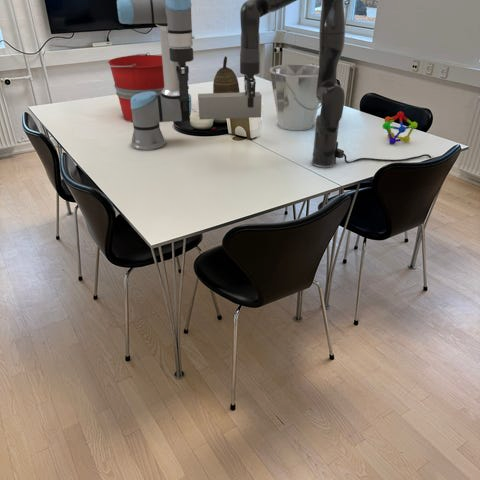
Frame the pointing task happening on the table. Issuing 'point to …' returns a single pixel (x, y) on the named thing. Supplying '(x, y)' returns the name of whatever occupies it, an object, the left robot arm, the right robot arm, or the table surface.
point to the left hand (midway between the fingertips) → (185, 114)
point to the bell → (225, 80)
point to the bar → (228, 105)
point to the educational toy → (398, 128)
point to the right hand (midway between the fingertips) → (249, 105)
